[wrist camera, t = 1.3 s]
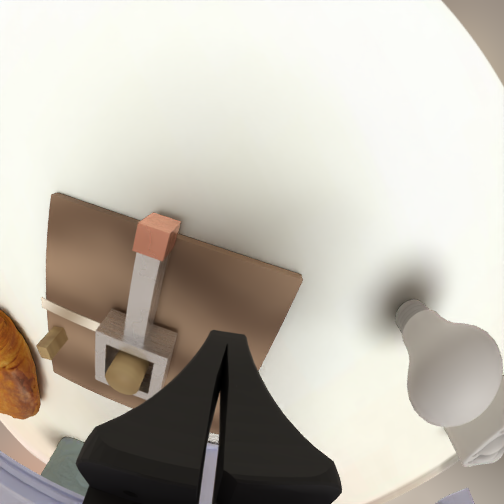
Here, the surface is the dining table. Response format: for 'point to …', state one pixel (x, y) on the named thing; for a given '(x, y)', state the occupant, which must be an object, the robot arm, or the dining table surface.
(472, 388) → the lightbulb
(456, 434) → the lumpy-topped squat cylinder
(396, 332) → the dining table surface
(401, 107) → the dining table surface
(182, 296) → the socket base
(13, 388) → the croissant
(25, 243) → the dining table surface
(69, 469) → the embossed teal cup
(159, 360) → the square frame with handle
